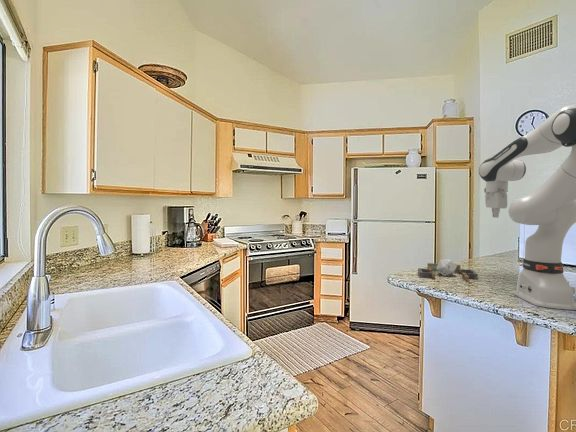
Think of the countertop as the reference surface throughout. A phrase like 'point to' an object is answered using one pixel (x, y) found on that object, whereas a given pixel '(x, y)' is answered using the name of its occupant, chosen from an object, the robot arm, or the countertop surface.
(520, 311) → the countertop surface
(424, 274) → the trap lane
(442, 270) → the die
